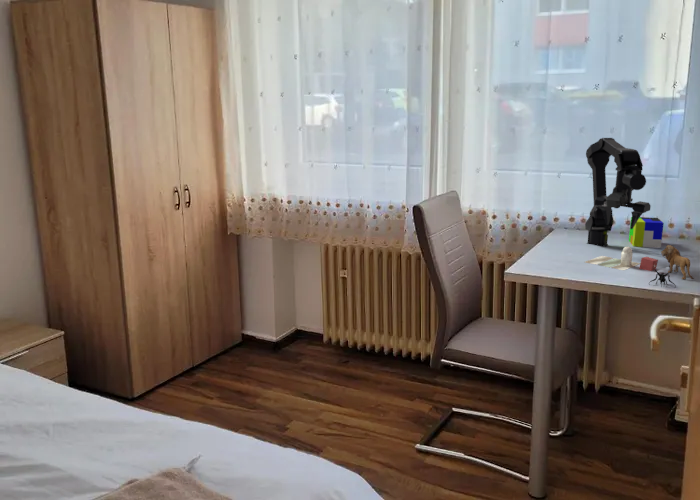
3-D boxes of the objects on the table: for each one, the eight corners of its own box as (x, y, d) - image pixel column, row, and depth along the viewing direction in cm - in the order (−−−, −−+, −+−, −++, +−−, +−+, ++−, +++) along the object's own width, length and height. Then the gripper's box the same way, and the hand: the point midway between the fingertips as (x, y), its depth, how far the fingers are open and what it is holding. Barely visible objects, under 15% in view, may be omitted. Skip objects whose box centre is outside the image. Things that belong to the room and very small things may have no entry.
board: (582, 264, 240) (582, 262, 240) (601, 257, 249) (602, 255, 249) (623, 273, 229) (623, 270, 229) (641, 265, 238) (642, 263, 238)
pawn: (618, 265, 235) (620, 246, 234) (623, 263, 238) (625, 244, 236) (628, 267, 233) (630, 248, 231) (633, 265, 235) (635, 246, 234)
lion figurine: (656, 269, 233) (659, 244, 231) (669, 268, 235) (672, 243, 232) (687, 281, 220) (690, 254, 217) (701, 280, 221) (704, 253, 219)
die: (641, 257, 231) (654, 261, 228) (647, 256, 233) (659, 260, 230) (638, 269, 232) (651, 273, 229) (644, 268, 235) (656, 272, 232)
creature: (675, 293, 211) (674, 281, 218) (677, 278, 209) (676, 266, 215) (648, 290, 214) (648, 278, 221) (650, 275, 212) (650, 264, 218)
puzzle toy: (660, 247, 263) (663, 222, 261) (633, 246, 265) (636, 221, 263) (654, 242, 273) (657, 217, 270) (628, 240, 275) (631, 216, 272)
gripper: (588, 184, 244) (584, 225, 248) (639, 191, 230) (633, 235, 235) (603, 180, 251) (599, 221, 255) (653, 187, 238) (648, 230, 242)
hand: (619, 226), depth 247 cm, fingers open, 9 cm apart
